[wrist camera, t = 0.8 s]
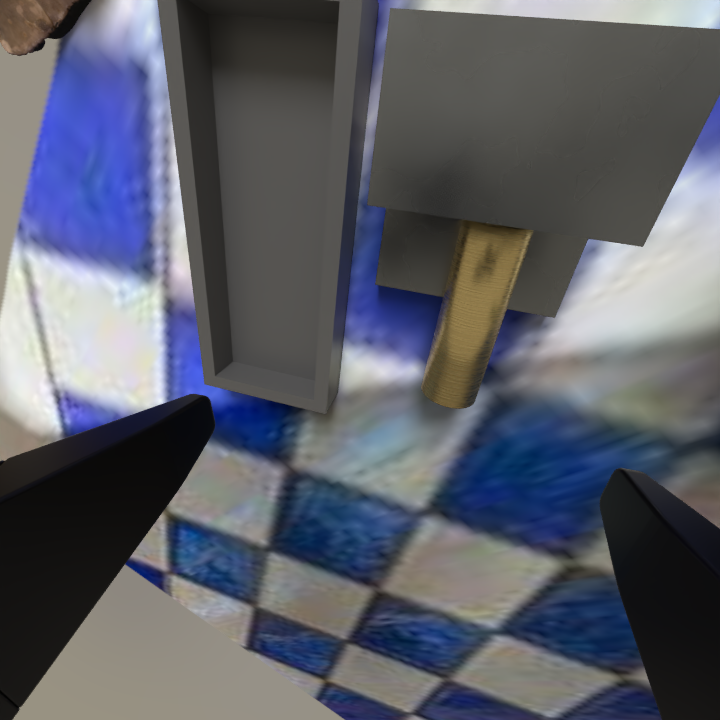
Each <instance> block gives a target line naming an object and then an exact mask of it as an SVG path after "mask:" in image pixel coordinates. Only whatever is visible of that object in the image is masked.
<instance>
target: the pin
mask: <svg viewBox="0 0 720 720" xmlns="http://www.w3.org/2000/svg"><path fill="white" fill-rule="evenodd" d="M533 232H534V230H529V229H522V228H515V227H509V226H502V225H496V224H489V223H482V222H476V221H469V220H462V223H461V227H460V231H459V235H458V239H457V243H456V247H455V251H454V256H453V260H452V264H451V268H450V272H449V276H448V280H447V284H446V288H445V292H444V296H443V300H442V304H441V308H440V312H439V316H438V320H437V325H436V329H435V333H434V337H433V341H432V345H431V349H430V353H429V357H428V361H427V365H426V369H425V373H424V377H423V381H422V386H421V389H422V391H423V393H424V394H425V396H426V397H428V398H429V399H430V400H431V401H433V402H435V403H437V404H439V405H442V406H445V407H449V408H458V409H460V408H467V407H469V406H471V405H473V404H474V402H475V399H476V396H477V394H478V391H479V388H480V385H481V382H482V379H483V376H484V373H485V371H486V368H487V365H488V362H489V359H490V356H491V353H492V350H493V347H494V345H495V342H496V339H497V336H498V333H499V330H500V327H501V324H502V321H503V319H504V316H505V313H506V310H507V307H508V304H509V301H510V298H511V296H512V293H513V290H514V287H515V284H516V281H517V278H518V275H519V272H520V270H521V267H522V264H523V261H524V258H525V255H526V252H527V249H528V246H529V244H530V241H531V238H532V235H533Z"/></svg>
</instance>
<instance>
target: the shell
mask: <svg viewBox="0 0 720 720" xmlns="http://www.w3.org/2000/svg"><path fill="white" fill-rule="evenodd" d="M90 1H91V0H0V42H1V44H2V46H3V48H4V49H5V50H6V51H7V52H8V53H10V54H12V55H18V56H21V55H26V54H27V53H32V52H34V51H39V50H41V49H42V48H43V47H44V44H45V40H44V39H46V38H52V39H59V38H61V37H63V36H64V35H66V34H67V33H68V32H69V31H70V30H71V29H72V27H73V26H74V25H75V23H76V22H77V20H78V18H79V17H80V15H81V14H82V12H83V11H84V9H85V8H86V7H87V5H88V4H89V3H90Z"/></svg>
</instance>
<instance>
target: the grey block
mask: <svg viewBox="0 0 720 720" xmlns="http://www.w3.org/2000/svg"><path fill="white" fill-rule="evenodd" d="M719 95H720V29H706V28H691V27H675V26H659V25H644V24H628V23H613V22H597V21H581V20H566V19H550V18H535V17H519V16H503V15H488V14H472V13H457V12H441V11H425V10H410V9H394V8H390V16H389V24H388V33H387V41H386V50H385V58H384V67H383V75H382V84H381V92H380V101H379V109H378V118H377V126H376V134H375V143H374V151H373V160H372V168H371V177H370V185H369V194H368V202H367V205H370V206H376V207H383V208H386V213H385V220H384V227H383V234H382V241H381V248H380V255H379V262H378V269H377V276H376V283H375V285H380V286H386V287H391V288H397V289H402V290H407V291H413V292H418V293H424V294H429V295H434V296H440V297H443V296H444V292H445V288H446V284H447V280H448V276H449V272H450V268H451V264H452V260H453V256H454V251H455V247H456V243H457V239H458V235H459V231H460V227H461V223H462V220H469V221H476V222H482V223H489V224H496V225H502V226H509V227H515V228H522V229H529V230H534V232H533V235H532V238H531V241H530V244H529V246H528V249H527V252H526V255H525V258H524V261H523V264H522V267H521V270H520V272H519V275H518V278H517V281H516V284H515V287H514V290H513V293H512V296H511V298H510V301H509V304H508V307H507V309H510V310H515V311H521V312H526V313H532V314H537V315H542V316H548V317H553V318H555V316H556V313H557V311H558V309H559V306H560V304H561V302H562V299H563V297H564V295H565V292H566V290H567V287H568V285H569V283H570V280H571V278H572V276H573V273H574V271H575V269H576V266H577V264H578V262H579V259H580V257H581V254H582V252H583V250H584V247H585V245H586V243H587V240H588V239H595V240H602V241H608V242H615V243H621V244H628V245H635V246H641V247H643V246H644V244H645V242H646V240H647V238H648V236H649V234H650V232H651V230H652V228H653V226H654V224H655V222H656V220H657V218H658V216H659V214H660V212H661V210H662V208H663V206H664V204H665V202H666V200H667V198H668V196H669V194H670V192H671V190H672V188H673V186H674V184H675V182H676V180H677V178H678V176H679V174H680V172H681V170H682V168H683V166H684V164H685V162H686V160H687V158H688V156H689V154H690V152H691V150H692V148H693V147H694V145H695V143H696V141H697V139H698V137H699V135H700V133H701V131H702V129H703V127H704V125H705V123H706V121H707V119H708V117H709V115H710V113H711V111H712V109H713V107H714V105H715V103H716V101H717V99H718V97H719Z"/></svg>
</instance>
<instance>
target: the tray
mask: <svg viewBox="0 0 720 720" xmlns="http://www.w3.org/2000/svg"><path fill="white" fill-rule="evenodd" d="M378 6H379V3H378V0H158V8H159V16H160V25H161V33H162V41H163V49H164V57H165V65H166V74H167V82H168V90H169V98H170V106H171V114H172V122H173V131H174V139H175V147H176V155H177V163H178V171H179V180H180V188H181V196H182V204H183V212H184V220H185V228H186V237H187V245H188V253H189V261H190V269H191V277H192V286H193V294H194V302H195V310H196V318H197V326H198V334H199V343H200V351H201V359H202V367H203V375H204V383H205V384H206V385H210V386H214V387H218V388H222V389H226V390H230V391H234V392H238V393H242V394H246V395H250V396H254V397H258V398H262V399H266V400H270V401H275V402H279V403H283V404H287V405H291V406H295V407H299V408H303V409H307V410H311V411H315V412H319V413H323V414H326V413H327V411H328V409H329V407H330V406H331V404H332V402H333V400H334V398H335V396H336V394H337V393H338V386H339V376H340V367H341V357H342V348H343V338H344V329H345V319H346V310H347V300H348V291H349V281H350V272H351V262H352V253H353V243H354V234H355V224H356V215H357V205H358V196H359V186H360V177H361V167H362V158H363V148H364V139H365V129H366V120H367V110H368V101H369V91H370V82H371V72H372V63H373V53H374V44H375V34H376V25H377V15H378Z"/></svg>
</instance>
